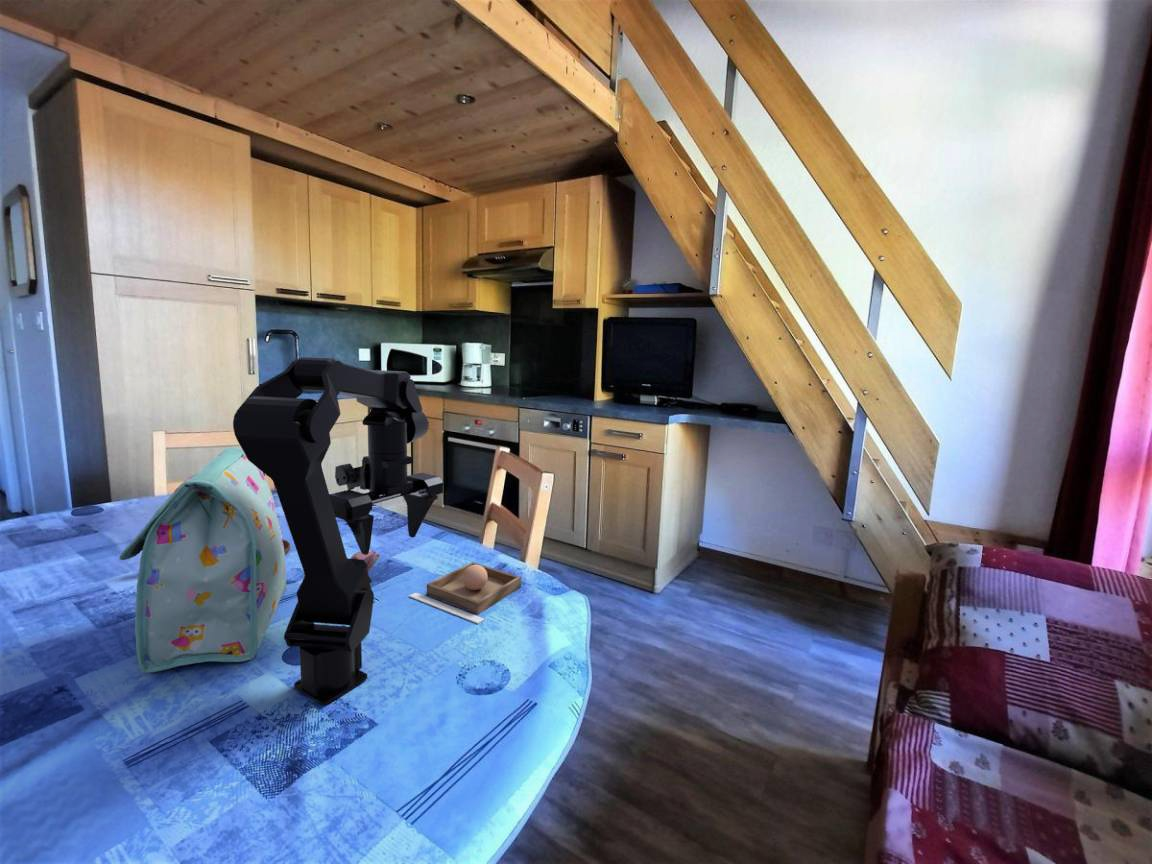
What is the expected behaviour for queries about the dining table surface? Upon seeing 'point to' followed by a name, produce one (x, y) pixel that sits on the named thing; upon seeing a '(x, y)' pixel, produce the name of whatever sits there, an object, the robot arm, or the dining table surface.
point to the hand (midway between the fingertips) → (389, 545)
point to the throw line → (447, 608)
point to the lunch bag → (209, 568)
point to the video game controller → (367, 558)
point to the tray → (474, 600)
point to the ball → (475, 577)
